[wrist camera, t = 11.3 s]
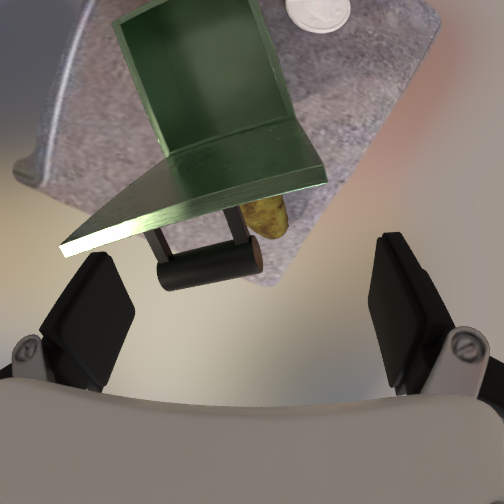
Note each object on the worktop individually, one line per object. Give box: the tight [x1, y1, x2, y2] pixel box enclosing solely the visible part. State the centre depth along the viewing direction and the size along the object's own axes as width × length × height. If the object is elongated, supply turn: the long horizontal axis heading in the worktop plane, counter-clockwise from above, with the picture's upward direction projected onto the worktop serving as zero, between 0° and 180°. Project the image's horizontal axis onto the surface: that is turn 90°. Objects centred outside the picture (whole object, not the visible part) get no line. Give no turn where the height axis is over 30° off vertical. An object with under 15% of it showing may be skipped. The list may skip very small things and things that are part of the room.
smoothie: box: [285, 0, 350, 33], centre depth 23 cm, size 6×6×14 cm
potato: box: [240, 194, 289, 239], centre depth 40 cm, size 8×13×8 cm, turn 7°
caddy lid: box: [60, 118, 328, 291], centre depth 21 cm, size 18×14×5 cm
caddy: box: [112, 0, 296, 159], centre depth 28 cm, size 17×14×12 cm
